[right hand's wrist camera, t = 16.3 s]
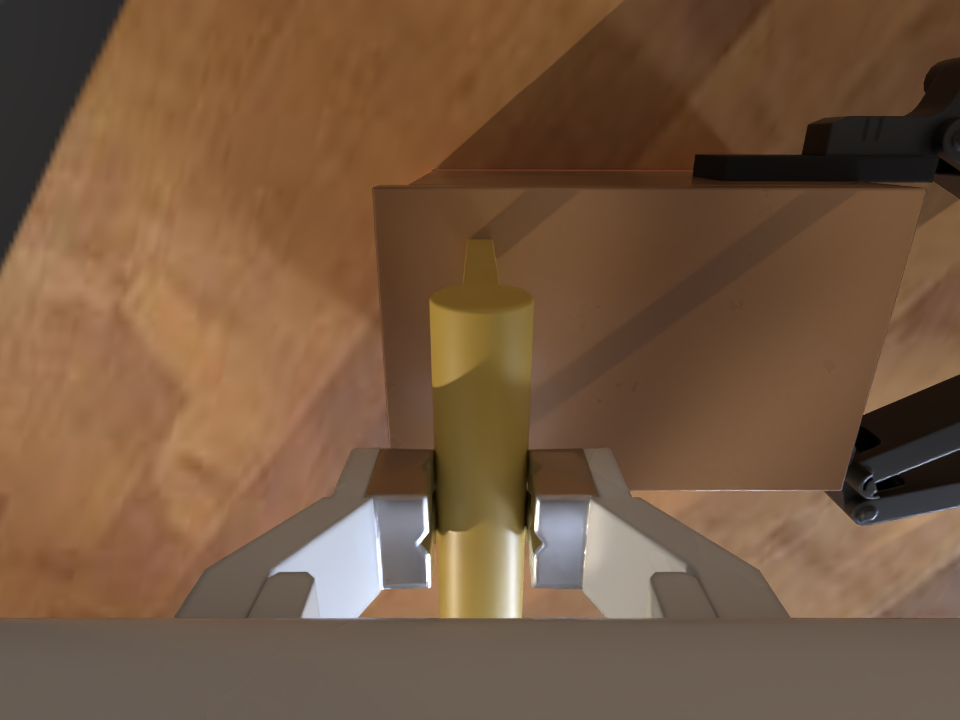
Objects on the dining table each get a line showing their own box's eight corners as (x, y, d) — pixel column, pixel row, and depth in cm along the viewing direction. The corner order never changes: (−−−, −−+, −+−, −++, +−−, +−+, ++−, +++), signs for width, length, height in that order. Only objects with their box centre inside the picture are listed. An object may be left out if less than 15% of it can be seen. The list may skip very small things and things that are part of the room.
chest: (439, 367, 28) (419, 475, 19) (434, 169, 24) (406, 184, 15) (714, 368, 28) (826, 476, 19) (748, 169, 24) (905, 185, 15)
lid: (395, 477, 19) (338, 707, 11) (376, 185, 15) (275, 225, 8) (827, 477, 19) (1066, 705, 11) (905, 185, 15) (1331, 228, 8)
